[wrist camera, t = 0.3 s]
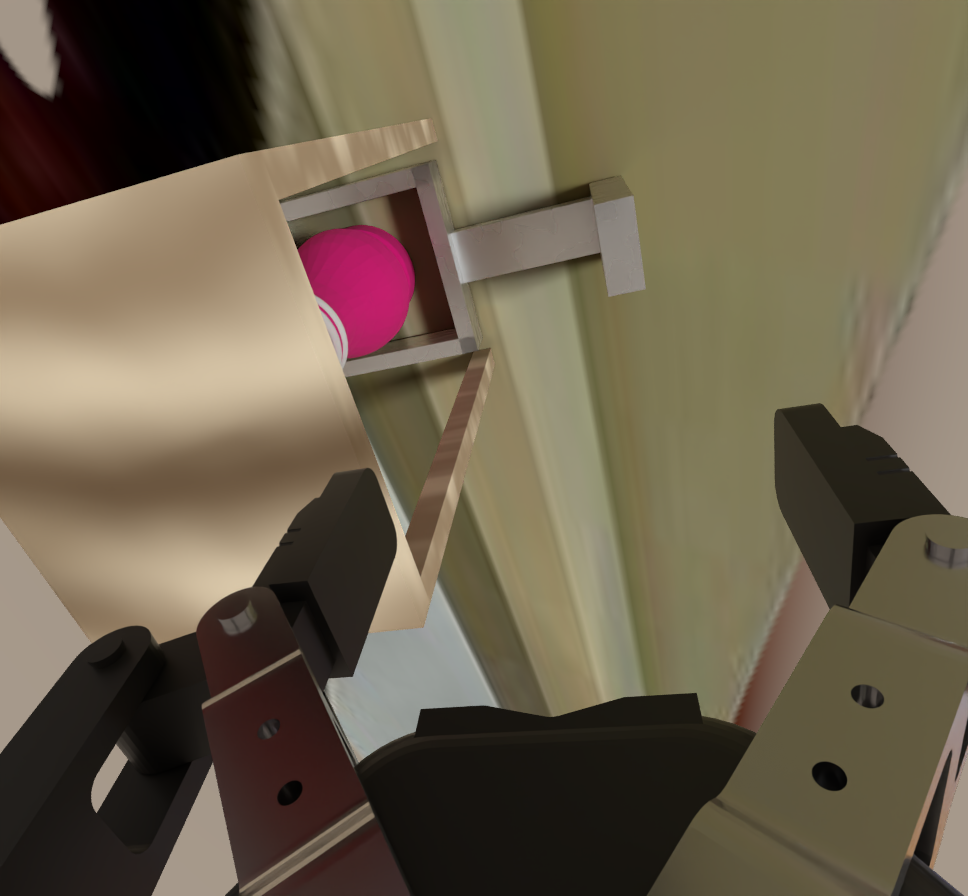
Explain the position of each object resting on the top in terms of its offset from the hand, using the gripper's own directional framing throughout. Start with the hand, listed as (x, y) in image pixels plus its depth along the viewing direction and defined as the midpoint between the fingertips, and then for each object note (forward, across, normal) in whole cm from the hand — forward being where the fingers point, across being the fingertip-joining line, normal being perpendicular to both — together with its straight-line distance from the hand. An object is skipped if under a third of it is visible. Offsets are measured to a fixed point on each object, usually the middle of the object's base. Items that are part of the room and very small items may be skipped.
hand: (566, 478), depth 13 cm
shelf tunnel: (+29, +13, +1) cm, 32 cm away
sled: (+28, +8, +1) cm, 30 cm away
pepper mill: (+29, +13, +1) cm, 32 cm away
